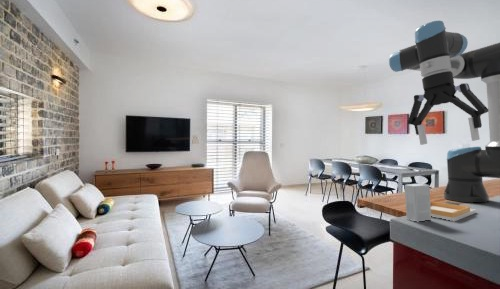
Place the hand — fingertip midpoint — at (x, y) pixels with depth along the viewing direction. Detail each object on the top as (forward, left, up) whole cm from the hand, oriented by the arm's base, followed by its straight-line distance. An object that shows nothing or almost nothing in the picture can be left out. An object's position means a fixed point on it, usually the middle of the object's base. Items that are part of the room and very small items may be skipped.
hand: (447, 142), depth 75 cm
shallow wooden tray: (-16, -8, -26) cm, 32 cm away
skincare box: (0, -9, -26) cm, 28 cm away
